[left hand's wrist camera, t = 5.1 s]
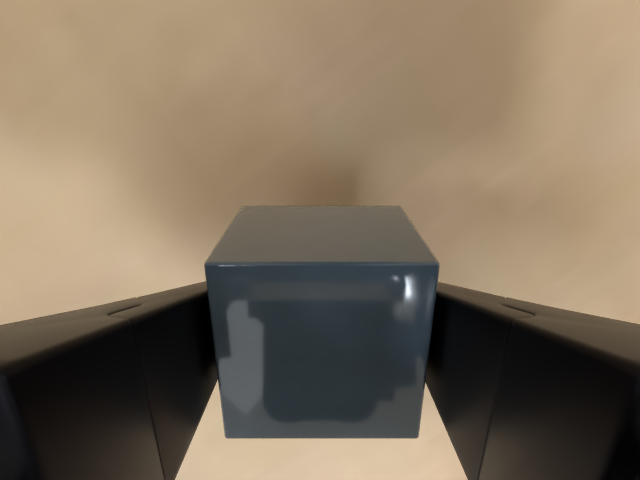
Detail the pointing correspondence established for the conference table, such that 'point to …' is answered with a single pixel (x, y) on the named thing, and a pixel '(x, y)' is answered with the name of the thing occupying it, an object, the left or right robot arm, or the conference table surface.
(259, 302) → the block
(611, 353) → the left robot arm
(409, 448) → the conference table surface
